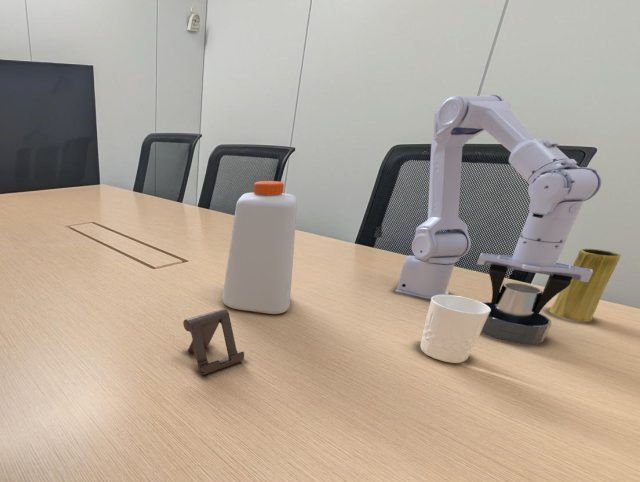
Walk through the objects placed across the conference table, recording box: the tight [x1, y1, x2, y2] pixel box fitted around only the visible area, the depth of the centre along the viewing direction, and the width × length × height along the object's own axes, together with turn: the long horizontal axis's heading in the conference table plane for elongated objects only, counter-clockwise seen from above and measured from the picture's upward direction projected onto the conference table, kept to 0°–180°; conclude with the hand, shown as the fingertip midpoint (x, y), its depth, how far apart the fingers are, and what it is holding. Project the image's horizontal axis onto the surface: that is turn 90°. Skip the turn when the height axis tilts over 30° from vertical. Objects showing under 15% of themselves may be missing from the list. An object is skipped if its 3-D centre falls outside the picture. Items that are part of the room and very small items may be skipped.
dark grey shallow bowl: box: [480, 301, 552, 345], centre depth 74 cm, size 11×11×4 cm
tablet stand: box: [182, 308, 245, 376], centre depth 66 cm, size 9×8×8 cm
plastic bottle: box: [221, 180, 298, 315], centre depth 86 cm, size 15×15×28 cm
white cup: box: [419, 294, 491, 364], centre depth 66 cm, size 8×8×10 cm
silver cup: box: [491, 282, 544, 325], centre depth 73 cm, size 5×5×9 cm
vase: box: [549, 248, 622, 322], centre depth 77 cm, size 6×6×14 cm
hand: (514, 306), depth 72 cm, fingers closed on silver cup, 5 cm apart
